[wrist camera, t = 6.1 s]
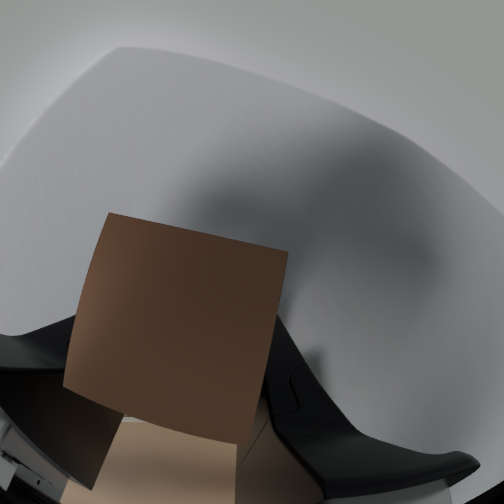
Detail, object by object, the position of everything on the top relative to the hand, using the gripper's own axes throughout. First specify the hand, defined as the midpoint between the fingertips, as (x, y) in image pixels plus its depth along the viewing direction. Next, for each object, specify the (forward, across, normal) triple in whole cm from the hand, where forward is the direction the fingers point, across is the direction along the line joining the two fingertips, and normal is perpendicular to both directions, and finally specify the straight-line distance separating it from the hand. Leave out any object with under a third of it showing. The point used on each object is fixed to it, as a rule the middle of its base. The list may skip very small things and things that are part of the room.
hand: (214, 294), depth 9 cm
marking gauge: (+4, 0, +6) cm, 7 cm away
